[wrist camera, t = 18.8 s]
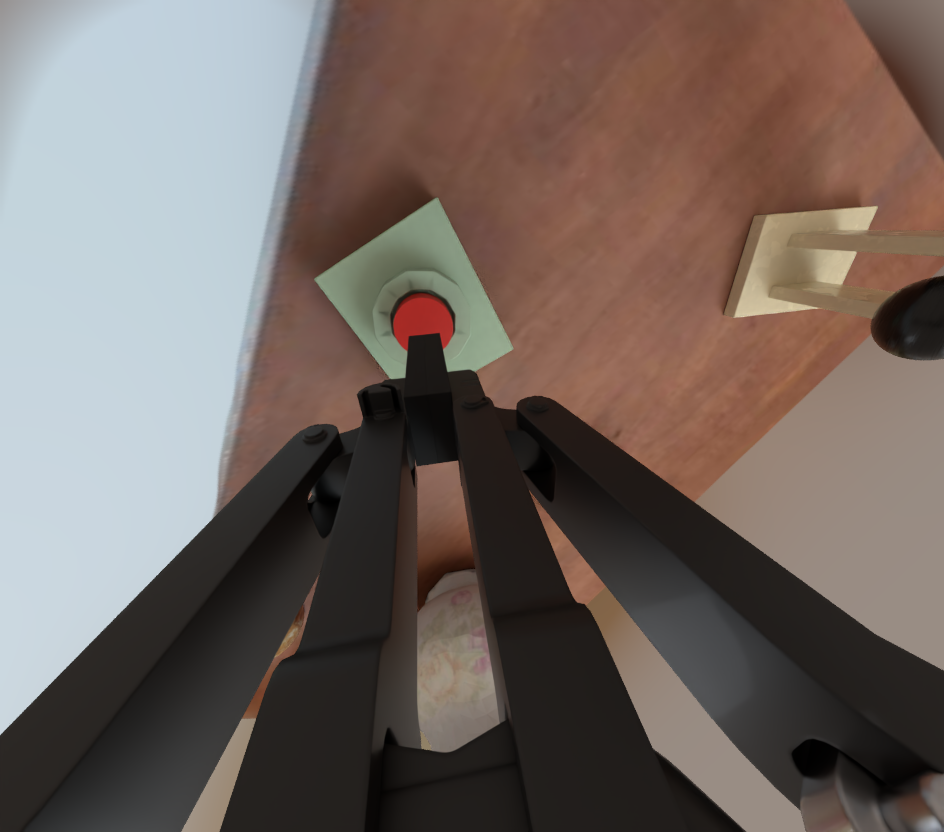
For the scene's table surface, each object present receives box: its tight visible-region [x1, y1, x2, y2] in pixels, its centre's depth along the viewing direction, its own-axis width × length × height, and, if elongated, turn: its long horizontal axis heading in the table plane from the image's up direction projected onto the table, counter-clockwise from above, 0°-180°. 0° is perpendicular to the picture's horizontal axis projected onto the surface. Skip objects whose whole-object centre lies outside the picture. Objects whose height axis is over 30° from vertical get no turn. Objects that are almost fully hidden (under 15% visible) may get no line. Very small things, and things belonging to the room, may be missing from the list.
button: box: [393, 293, 453, 351], centre depth 23 cm, size 4×4×2 cm
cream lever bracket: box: [724, 206, 944, 319], centre depth 24 cm, size 10×8×14 cm
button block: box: [314, 197, 513, 379], centre depth 25 cm, size 12×10×4 cm
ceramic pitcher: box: [417, 569, 500, 752], centre depth 37 cm, size 22×20×25 cm
